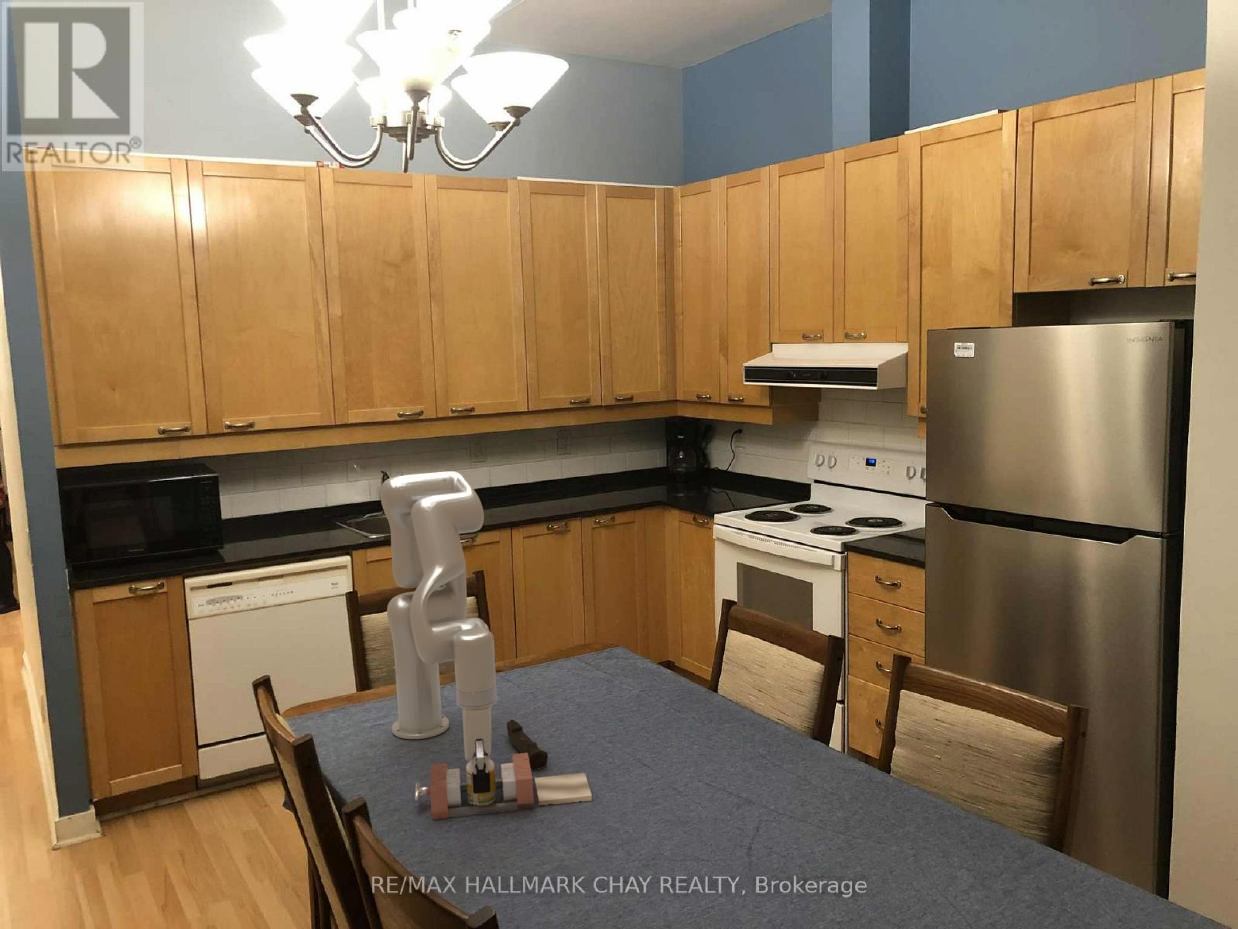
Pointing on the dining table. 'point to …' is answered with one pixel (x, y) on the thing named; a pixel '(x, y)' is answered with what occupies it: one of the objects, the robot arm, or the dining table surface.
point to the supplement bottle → (481, 797)
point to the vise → (449, 788)
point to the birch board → (562, 789)
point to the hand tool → (526, 745)
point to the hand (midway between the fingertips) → (481, 781)
